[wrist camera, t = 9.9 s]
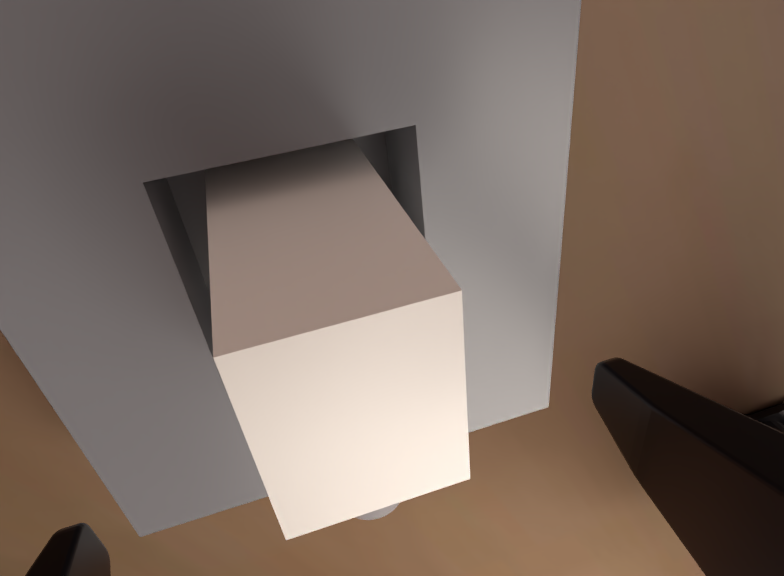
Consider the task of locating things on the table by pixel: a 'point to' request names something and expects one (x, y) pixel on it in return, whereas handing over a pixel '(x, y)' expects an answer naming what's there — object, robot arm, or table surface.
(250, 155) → the socket block
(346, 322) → the plug
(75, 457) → the table surface
